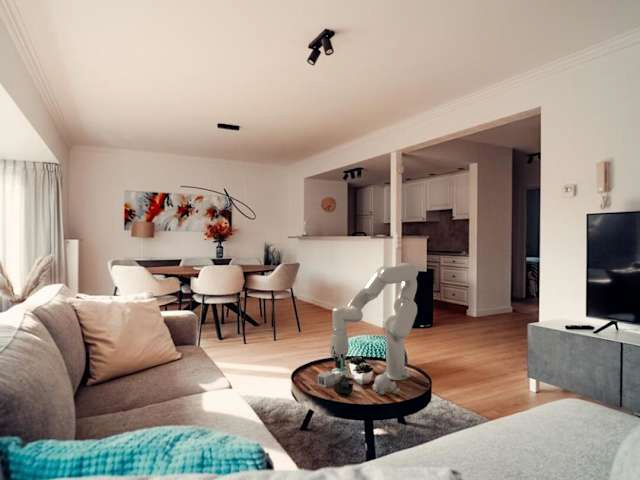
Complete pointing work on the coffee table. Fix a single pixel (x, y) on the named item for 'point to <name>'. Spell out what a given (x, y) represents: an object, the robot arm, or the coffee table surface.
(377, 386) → the chubby cartoon animal
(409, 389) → the coffee table surface
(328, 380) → the sleeve
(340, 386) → the end cap
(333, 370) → the socket block
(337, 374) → the slip tube
